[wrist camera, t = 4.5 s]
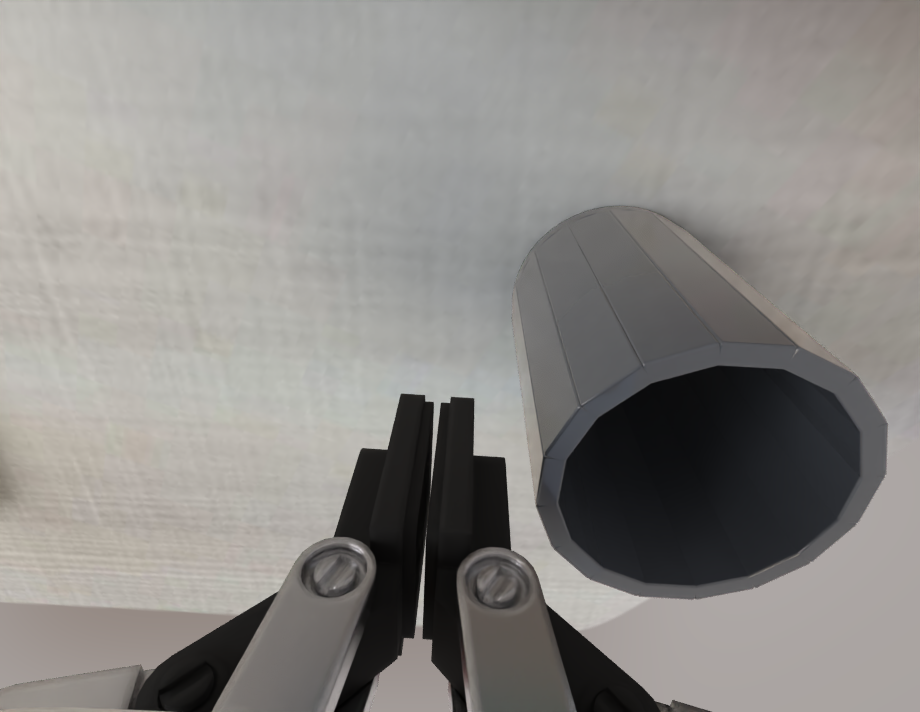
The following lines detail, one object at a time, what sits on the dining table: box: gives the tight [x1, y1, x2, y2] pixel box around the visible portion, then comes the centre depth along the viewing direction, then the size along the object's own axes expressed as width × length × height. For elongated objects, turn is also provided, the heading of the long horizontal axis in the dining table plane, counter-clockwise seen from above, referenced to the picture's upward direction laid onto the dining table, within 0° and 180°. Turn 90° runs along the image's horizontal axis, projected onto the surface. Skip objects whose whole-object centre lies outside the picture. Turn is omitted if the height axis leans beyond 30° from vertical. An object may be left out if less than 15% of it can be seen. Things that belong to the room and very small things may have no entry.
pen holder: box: [512, 206, 888, 600], centre depth 16 cm, size 7×7×10 cm
